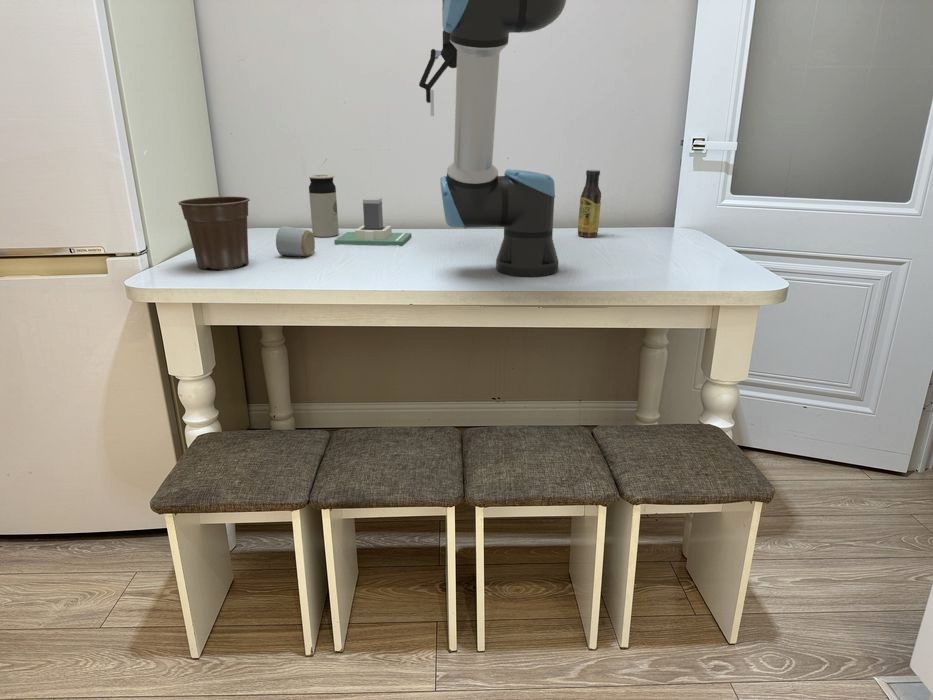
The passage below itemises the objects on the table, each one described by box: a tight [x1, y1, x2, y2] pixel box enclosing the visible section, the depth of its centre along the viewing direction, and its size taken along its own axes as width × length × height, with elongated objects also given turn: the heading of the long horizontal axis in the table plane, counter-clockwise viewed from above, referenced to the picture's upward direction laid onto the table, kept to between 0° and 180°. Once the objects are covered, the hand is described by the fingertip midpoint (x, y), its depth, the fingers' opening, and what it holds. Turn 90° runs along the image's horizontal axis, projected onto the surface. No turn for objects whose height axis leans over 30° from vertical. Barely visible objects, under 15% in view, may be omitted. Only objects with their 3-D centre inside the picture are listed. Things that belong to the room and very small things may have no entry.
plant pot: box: [178, 196, 251, 270], centre depth 159 cm, size 16×16×16 cm
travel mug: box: [308, 174, 340, 238], centre depth 198 cm, size 8×8×18 cm
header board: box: [333, 224, 412, 247], centre depth 192 cm, size 14×20×4 cm
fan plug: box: [362, 197, 384, 230], centre depth 191 cm, size 4×4×11 cm
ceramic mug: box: [275, 225, 316, 257], centre depth 173 cm, size 11×8×8 cm
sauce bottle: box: [577, 168, 602, 238], centre depth 196 cm, size 6×6×20 cm
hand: (457, 116), depth 175 cm, fingers open, 13 cm apart
